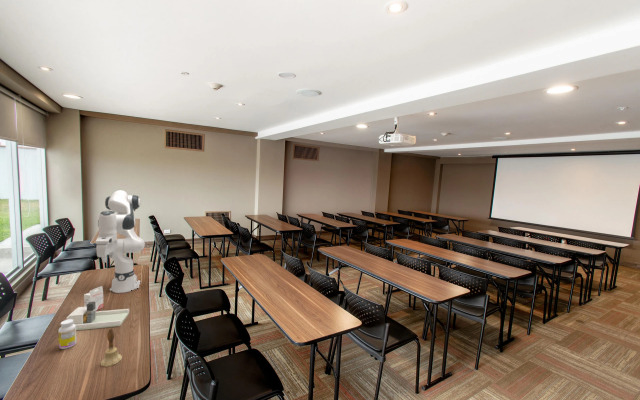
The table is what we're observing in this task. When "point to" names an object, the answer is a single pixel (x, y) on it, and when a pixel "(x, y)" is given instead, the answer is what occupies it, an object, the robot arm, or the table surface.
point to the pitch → (98, 318)
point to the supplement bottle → (67, 334)
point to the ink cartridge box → (94, 298)
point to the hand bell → (111, 352)
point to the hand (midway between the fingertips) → (108, 260)
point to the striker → (90, 312)
